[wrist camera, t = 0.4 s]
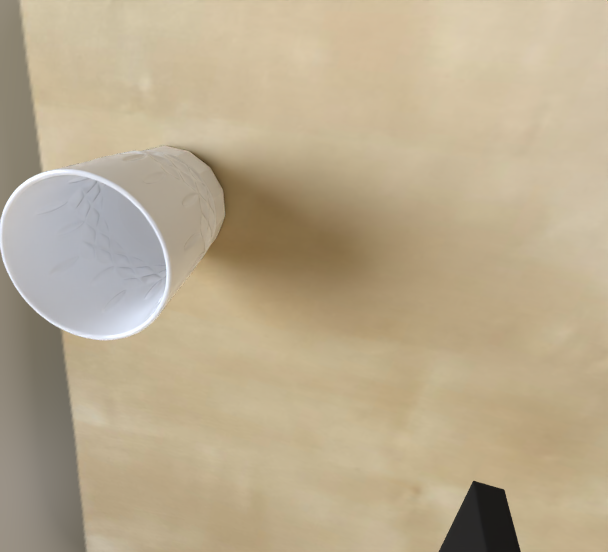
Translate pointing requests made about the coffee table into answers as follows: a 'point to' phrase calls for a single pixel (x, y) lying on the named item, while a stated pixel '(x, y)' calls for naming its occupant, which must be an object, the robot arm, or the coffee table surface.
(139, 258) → the white cup
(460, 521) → the robot arm
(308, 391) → the coffee table surface
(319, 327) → the coffee table surface
